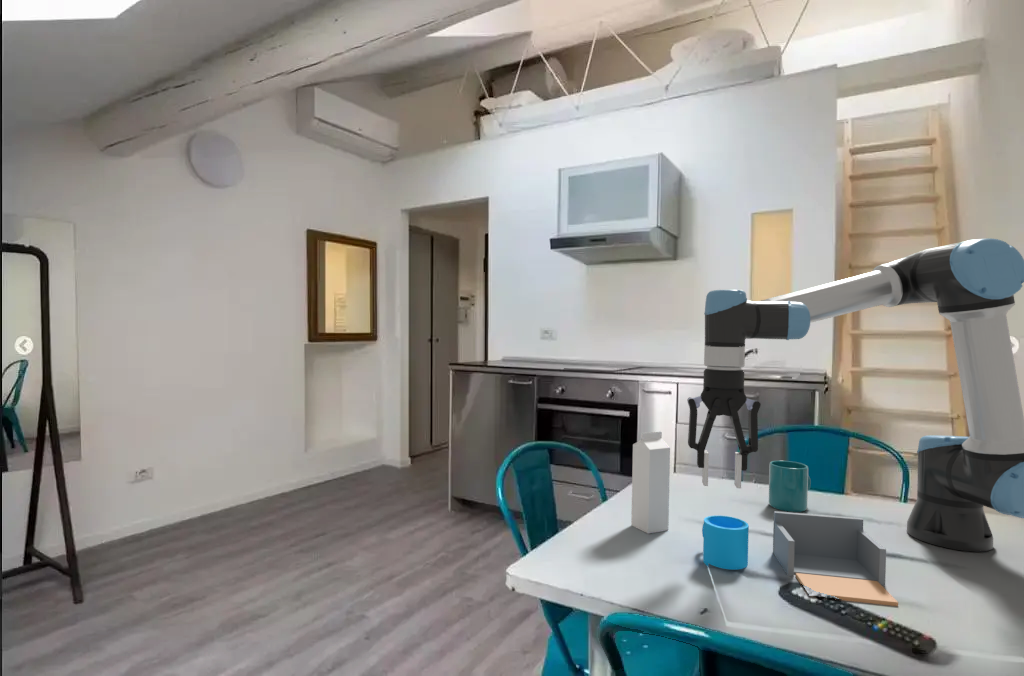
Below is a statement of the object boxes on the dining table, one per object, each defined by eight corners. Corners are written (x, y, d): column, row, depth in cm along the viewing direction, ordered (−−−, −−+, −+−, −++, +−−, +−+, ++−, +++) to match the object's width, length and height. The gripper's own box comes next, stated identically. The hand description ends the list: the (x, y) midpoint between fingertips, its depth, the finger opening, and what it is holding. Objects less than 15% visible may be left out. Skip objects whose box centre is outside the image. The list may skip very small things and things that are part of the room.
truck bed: (860, 563, 109) (861, 518, 109) (885, 588, 99) (886, 538, 99) (772, 555, 113) (773, 511, 113) (787, 578, 102) (788, 529, 102)
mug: (756, 571, 105) (757, 528, 105) (717, 574, 103) (718, 530, 103) (721, 547, 117) (722, 508, 117) (685, 549, 115) (686, 510, 115)
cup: (823, 509, 143) (824, 466, 143) (788, 514, 139) (789, 469, 139) (794, 499, 152) (795, 458, 151) (760, 503, 147) (761, 461, 147)
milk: (631, 525, 129) (632, 430, 129) (651, 522, 132) (652, 429, 131) (648, 534, 123) (649, 435, 123) (669, 530, 126) (670, 433, 126)
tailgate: (877, 581, 99) (898, 602, 91) (876, 587, 99) (898, 609, 91) (795, 572, 102) (809, 592, 94) (795, 579, 102) (809, 599, 94)
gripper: (769, 368, 111) (766, 483, 112) (673, 365, 115) (671, 477, 116) (779, 371, 104) (776, 494, 104) (676, 368, 108) (674, 486, 108)
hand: (721, 485), depth 110 cm, fingers open, 5 cm apart
